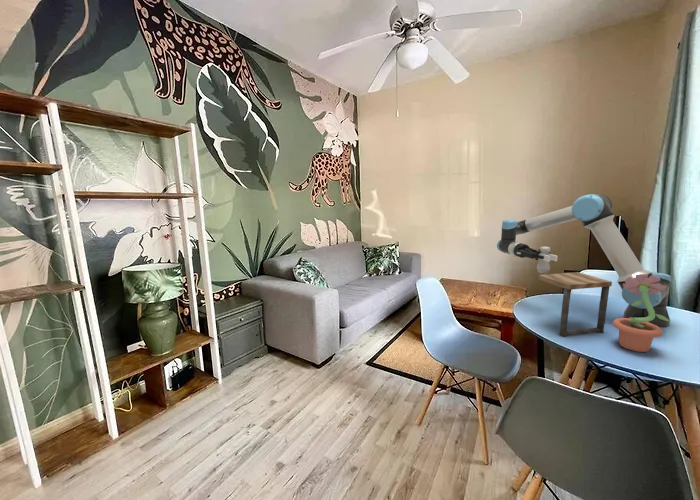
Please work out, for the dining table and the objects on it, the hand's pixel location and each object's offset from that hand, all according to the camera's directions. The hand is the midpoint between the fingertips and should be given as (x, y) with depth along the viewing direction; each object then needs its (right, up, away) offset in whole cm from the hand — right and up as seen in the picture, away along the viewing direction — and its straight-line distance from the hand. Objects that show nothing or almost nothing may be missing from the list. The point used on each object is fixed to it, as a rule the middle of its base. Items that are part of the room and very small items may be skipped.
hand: (553, 258), depth 139 cm
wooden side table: (+3, -31, -6) cm, 32 cm away
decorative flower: (+15, -34, -25) cm, 45 cm away
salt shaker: (0, -7, +7) cm, 10 cm away
